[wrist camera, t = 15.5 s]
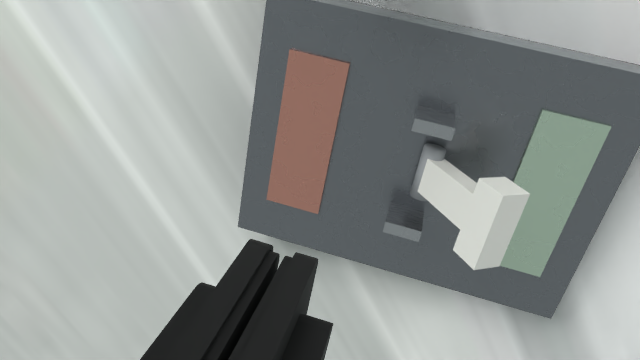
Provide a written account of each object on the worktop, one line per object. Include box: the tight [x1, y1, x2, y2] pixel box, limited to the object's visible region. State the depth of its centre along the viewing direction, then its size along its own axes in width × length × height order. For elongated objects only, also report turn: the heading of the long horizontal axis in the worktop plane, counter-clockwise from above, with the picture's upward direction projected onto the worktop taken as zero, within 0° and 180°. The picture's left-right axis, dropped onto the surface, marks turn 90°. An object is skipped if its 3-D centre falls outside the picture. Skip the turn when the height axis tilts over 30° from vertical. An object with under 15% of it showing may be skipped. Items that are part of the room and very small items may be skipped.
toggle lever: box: [410, 143, 530, 270], centre depth 37 cm, size 2×6×10 cm
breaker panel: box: [238, 0, 640, 318], centre depth 42 cm, size 30×22×9 cm
